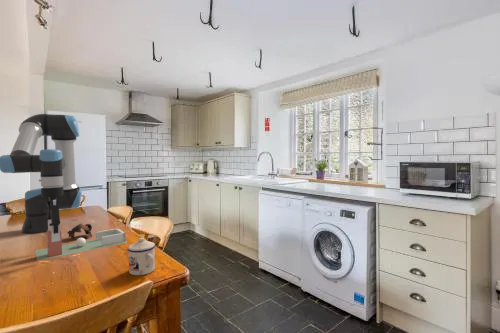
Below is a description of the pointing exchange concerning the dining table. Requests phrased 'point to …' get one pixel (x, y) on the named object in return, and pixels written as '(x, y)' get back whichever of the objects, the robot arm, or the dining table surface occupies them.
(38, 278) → the dining table surface
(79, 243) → the ball
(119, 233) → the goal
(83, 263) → the dining table surface
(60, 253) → the red tall block
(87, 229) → the pottery mug
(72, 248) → the felt mat
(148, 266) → the teacup with lid
